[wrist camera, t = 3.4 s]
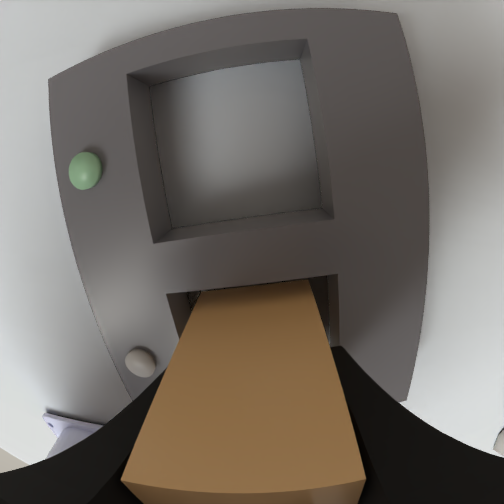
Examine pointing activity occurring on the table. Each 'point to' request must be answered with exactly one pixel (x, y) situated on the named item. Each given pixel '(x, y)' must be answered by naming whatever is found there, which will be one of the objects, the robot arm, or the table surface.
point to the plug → (249, 408)
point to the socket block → (260, 227)
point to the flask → (500, 444)
